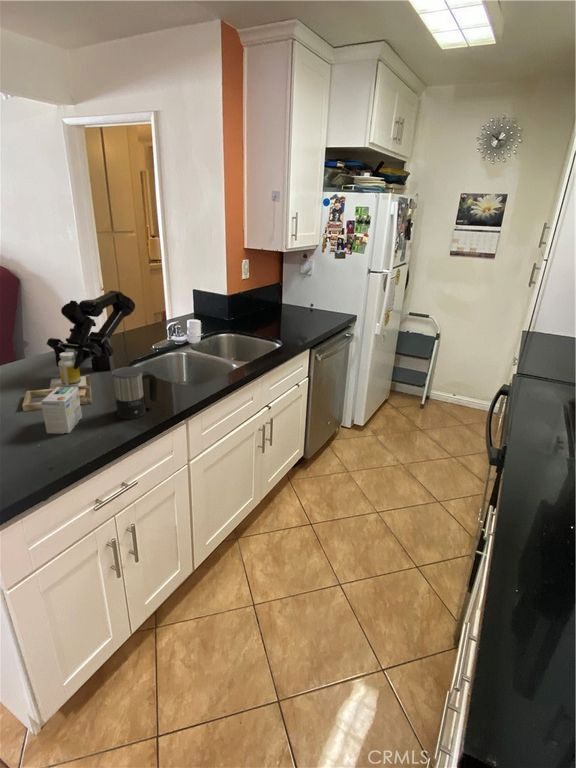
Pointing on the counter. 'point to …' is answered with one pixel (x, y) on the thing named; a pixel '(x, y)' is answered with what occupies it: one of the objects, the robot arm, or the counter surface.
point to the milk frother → (132, 391)
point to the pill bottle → (68, 369)
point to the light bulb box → (61, 409)
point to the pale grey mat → (58, 383)
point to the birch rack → (46, 392)
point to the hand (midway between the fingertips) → (66, 367)
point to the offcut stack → (82, 393)
